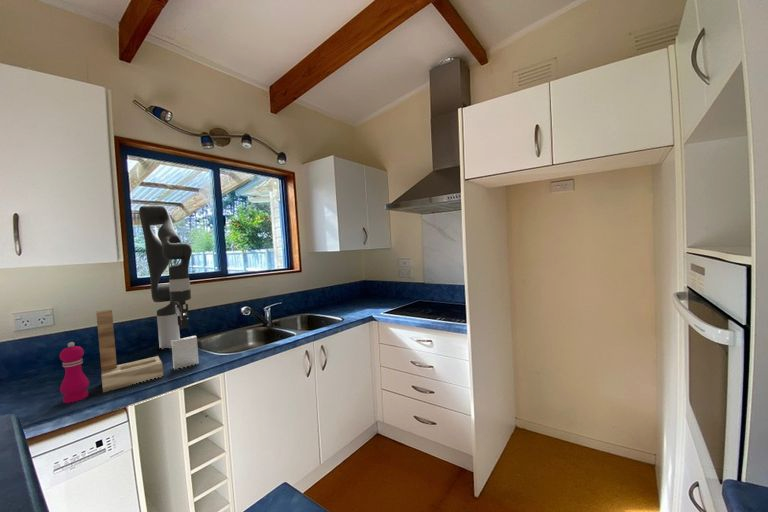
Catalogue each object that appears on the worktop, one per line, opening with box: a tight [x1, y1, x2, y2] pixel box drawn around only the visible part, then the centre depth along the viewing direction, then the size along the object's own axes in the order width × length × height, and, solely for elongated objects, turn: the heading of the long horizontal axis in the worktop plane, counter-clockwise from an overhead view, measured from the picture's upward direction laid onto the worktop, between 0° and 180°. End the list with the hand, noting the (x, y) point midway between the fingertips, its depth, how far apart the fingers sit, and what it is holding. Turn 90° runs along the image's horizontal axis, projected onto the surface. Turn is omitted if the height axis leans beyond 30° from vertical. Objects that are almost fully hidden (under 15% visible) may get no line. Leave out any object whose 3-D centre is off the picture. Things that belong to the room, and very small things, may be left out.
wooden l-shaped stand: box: [96, 309, 164, 393], centre depth 123 cm, size 12×18×28 cm, turn 132°
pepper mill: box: [59, 341, 90, 404], centre depth 109 cm, size 7×7×20 cm
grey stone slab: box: [171, 335, 200, 371], centre depth 136 cm, size 3×9×12 cm, turn 132°
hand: (183, 326), depth 135 cm, fingers open, 8 cm apart
